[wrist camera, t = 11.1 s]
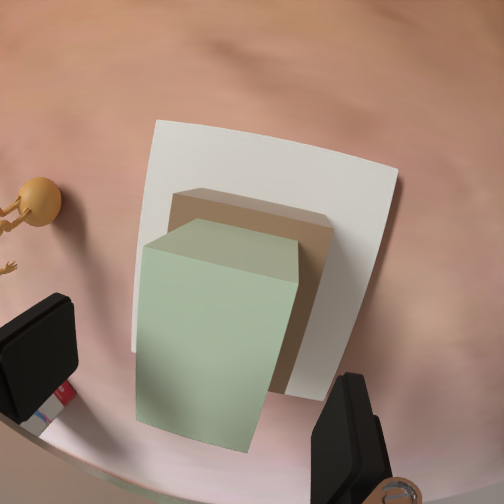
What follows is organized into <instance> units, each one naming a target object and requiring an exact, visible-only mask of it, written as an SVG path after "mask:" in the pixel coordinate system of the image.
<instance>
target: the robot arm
mask: <svg viewBox="0 0 504 504" xmlns="http://www.w3.org/2000/svg"><path fill="white" fill-rule="evenodd" d="M78 363H79V360H78V351H77V341H76V330H75V315H74V305H73V303H72V302H71V299H70V298H69V297H68V296H65V295H63V294H60V293H54V294H52V295H50V296H49V297H47V298H45V299H44V300H42V301H41V302H39V303H38V304H36V305H34V306H33V307H31V308H30V309H28V310H27V311H25V312H23V313H22V314H20V315H19V316H17V317H16V318H14V319H13V320H11V321H10V322H8V323H7V324H5V325H4V326H2V327H1V328H0V504H188V503H185V502H182V501H179V500H175V499H172V498H169V497H166V496H163V495H160V494H157V493H155V492H152V491H149V490H146V489H144V488H141V487H138V486H136V485H133V484H131V483H128V482H126V481H123V480H121V479H118V478H116V477H114V476H111V475H109V474H107V473H105V472H102V471H100V470H98V469H96V468H94V467H92V466H90V465H88V464H86V463H84V462H82V461H80V460H78V459H76V458H74V457H72V456H70V455H68V454H66V453H64V452H63V451H61V450H59V449H57V448H55V447H54V446H52V445H50V444H48V443H47V442H45V441H43V440H42V439H40V438H38V437H37V436H35V435H33V434H32V433H30V432H29V431H27V430H26V429H24V428H22V427H21V426H19V425H20V424H21V423H22V422H26V421H27V420H29V419H30V417H31V416H32V415H33V414H34V413H35V412H36V411H37V410H38V409H39V408H40V407H41V406H42V405H43V404H44V403H45V401H46V400H47V399H48V398H49V397H50V396H51V395H52V394H53V393H54V392H55V391H56V390H57V389H58V388H59V387H60V386H61V385H62V384H63V383H64V382H65V381H66V380H67V378H68V377H69V376H70V375H71V374H72V373H73V372H74V371H75V370H76V369H77V367H78ZM310 504H422V495H421V492H420V490H419V488H418V487H417V486H416V485H415V484H414V483H413V482H411V481H409V480H407V479H405V478H400V477H393V475H392V471H391V466H390V462H389V457H388V453H387V448H386V444H385V440H384V436H383V431H382V427H381V423H380V420H379V417H378V416H377V415H373V412H372V408H371V404H370V400H369V396H368V392H367V388H366V384H365V380H364V377H363V375H361V374H355V373H349V372H346V373H345V374H344V375H343V376H340V375H339V376H338V377H337V379H336V382H335V384H334V386H333V388H332V391H331V393H330V395H329V397H328V400H327V402H326V404H325V406H324V408H323V410H322V413H321V415H320V417H319V419H318V421H317V423H316V425H315V427H314V429H313V432H312V436H311V499H310Z"/></svg>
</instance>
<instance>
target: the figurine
mask: <svg viewBox="0 0 504 504" xmlns="http://www.w3.org/2000/svg"><path fill="white" fill-rule="evenodd" d="M16 208H18V212H19V214H20V216H19V217H18V218H17V219H16V220H15V221H13V222H12V223H10V222H8V221H7V220H1V221H0V235H1V234H2V233H3V231H4V230H5V231H6V232H10V231H11V230H12V229H14V228H15V227H16V226H18V225H19V224H20V223H22V222H23V221H25V222H26V223H27V224H29V225H31V226H35V227H41V226H45V225H47V224H49V223H51V222H52V221H53V220H54V219H55V218H56V217H57V215H58V213H59V211H60V208H61V193H60V191H59V188H58V187H57V185H56V184H55V183H54V182H53V181H51V180H50V179H47V178H44V177H37V178H33V179H31V180H29V181H28V182H26V183H25V184H24V185H23V187H22V188H21V190H20V192H19V194H18V196H17V198H16V199H15V201H14V203H12V204H11V205H10V206H9V207H7V208H6V209H5V210H4V211H2V209H1V208H0V217H4V216H6V215H7V214H9V213H10V212H12V211H13V210H15V209H16ZM8 263H9V261H8V262H7V263H6V265H5V268H4V269H0V275H2V274H7V273H10V272H12V271H14V270H15V269H16V268H17V267H16V266H17V264H16V265H14V266H12V265H13V264H14V263H15V261H14V262H13V263H11V264H10V265H9V266H8ZM14 267H16V268H14ZM13 268H14V269H13Z"/></svg>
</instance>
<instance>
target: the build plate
mask: <svg viewBox="0 0 504 504" xmlns="http://www.w3.org/2000/svg"><path fill="white" fill-rule="evenodd" d="M398 170H399V169H396V168H393V167H389V166H386V165H383V164H379V163H376V162H373V161H369V160H366V159H362V158H358V157H355V156H351V155H347V154H344V153H340V152H336V151H332V150H328V149H324V148H320V147H316V146H311V145H307V144H303V143H298V142H294V141H289V140H284V139H279V138H275V137H270V136H264V135H259V134H254V133H248V132H243V131H237V130H231V129H225V128H218V127H212V126H205V125H198V124H190V123H182V122H174V121H165V120H157V121H156V125H155V131H154V136H153V141H152V146H151V152H150V158H149V163H148V169H147V176H146V182H145V189H144V196H143V203H142V211H141V218H140V227H139V236H138V245H137V256H136V267H135V280H134V294H133V313H132V341H131V352H134V353H136V338H137V315H138V299H139V285H140V273H141V261H142V251H143V246H144V245H146V244H148V243H150V242H152V241H154V240H156V239H158V238H159V237H161V236H163V235H165V234H167V233H169V232H171V231H173V230H175V229H177V228H179V227H181V226H183V225H185V224H187V223H189V222H191V221H193V220H195V219H197V218H198V219H203V220H208V221H212V222H217V223H221V224H226V225H230V226H235V227H239V228H244V229H248V230H252V231H257V232H261V233H266V234H270V235H274V236H279V237H283V238H287V239H292V240H296V241H298V272H299V284H298V288H297V292H296V295H295V299H294V303H293V306H292V310H291V314H290V317H289V321H288V324H287V328H286V331H285V335H284V338H283V342H282V345H281V349H280V352H279V355H278V359H277V362H276V365H275V369H274V372H273V375H272V379H271V382H270V385H269V388H268V391H270V392H275V393H280V394H286V395H291V396H296V397H301V398H307V399H312V400H318V401H324V399H325V397H326V394H327V392H328V390H329V387H330V385H331V383H332V380H333V378H334V376H335V373H336V371H337V368H338V366H339V363H340V361H341V358H342V356H343V353H344V351H345V348H346V345H347V343H348V340H349V337H350V335H351V332H352V329H353V327H354V324H355V321H356V318H357V315H358V313H359V310H360V307H361V304H362V301H363V298H364V295H365V292H366V289H367V286H368V283H369V279H370V276H371V273H372V270H373V267H374V263H375V260H376V257H377V253H378V250H379V246H380V243H381V239H382V235H383V232H384V228H385V224H386V221H387V217H388V213H389V209H390V205H391V201H392V196H393V192H394V188H395V184H396V179H397V175H398Z"/></svg>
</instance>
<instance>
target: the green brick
mask: <svg viewBox="0 0 504 504" xmlns="http://www.w3.org/2000/svg"><path fill="white" fill-rule="evenodd" d="M298 284H299V272H298V241H296V240H292V239H287V238H283V237H279V236H274V235H270V234H266V233H261V232H257V231H252V230H248V229H244V228H239V227H235V226H230V225H226V224H221V223H217V222H212V221H208V220H203V219H198V218H197V219H195V220H193V221H191V222H189V223H187V224H185V225H183V226H181V227H179V228H177V229H175V230H173V231H171V232H169V233H167V234H165V235H163V236H161V237H159V238H158V239H156V240H154V241H152V242H150V243H148V244H146V245H144V246H143V251H142V261H141V273H140V285H139V299H138V315H137V338H136V420H137V421H140V422H142V423H145V424H148V425H151V426H153V427H156V428H159V429H162V430H165V431H168V432H171V433H174V434H177V435H180V436H183V437H187V438H190V439H193V440H197V441H200V442H204V443H207V444H211V445H215V446H219V447H223V448H227V449H231V450H235V451H239V452H244V453H247V452H248V449H249V447H250V444H251V441H252V438H253V435H254V432H255V429H256V426H257V423H258V420H259V417H260V413H261V410H262V407H263V404H264V401H265V398H266V395H267V391H268V388H269V385H270V382H271V379H272V375H273V372H274V369H275V365H276V362H277V359H278V355H279V352H280V349H281V345H282V342H283V338H284V335H285V331H286V328H287V324H288V321H289V317H290V314H291V310H292V306H293V303H294V299H295V295H296V292H297V288H298Z"/></svg>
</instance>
